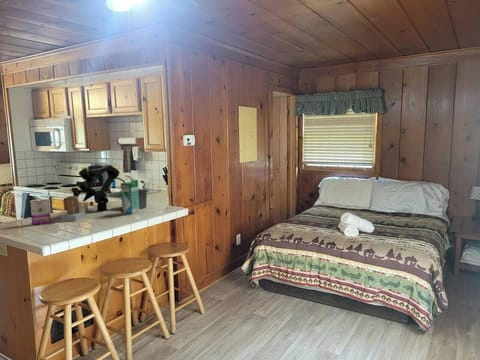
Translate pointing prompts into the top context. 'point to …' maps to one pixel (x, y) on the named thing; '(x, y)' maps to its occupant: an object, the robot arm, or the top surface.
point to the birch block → (83, 207)
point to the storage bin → (142, 198)
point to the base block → (73, 216)
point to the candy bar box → (40, 211)
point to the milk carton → (130, 197)
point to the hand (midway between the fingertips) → (78, 201)
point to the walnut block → (72, 205)
